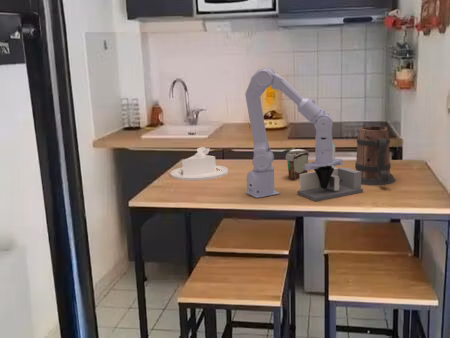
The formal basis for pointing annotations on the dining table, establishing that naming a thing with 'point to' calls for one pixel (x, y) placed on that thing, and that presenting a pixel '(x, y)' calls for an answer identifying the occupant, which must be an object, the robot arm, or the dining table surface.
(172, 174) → the dish
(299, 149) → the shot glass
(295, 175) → the food container
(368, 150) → the tankard
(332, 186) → the grey rectangular block
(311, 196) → the base
